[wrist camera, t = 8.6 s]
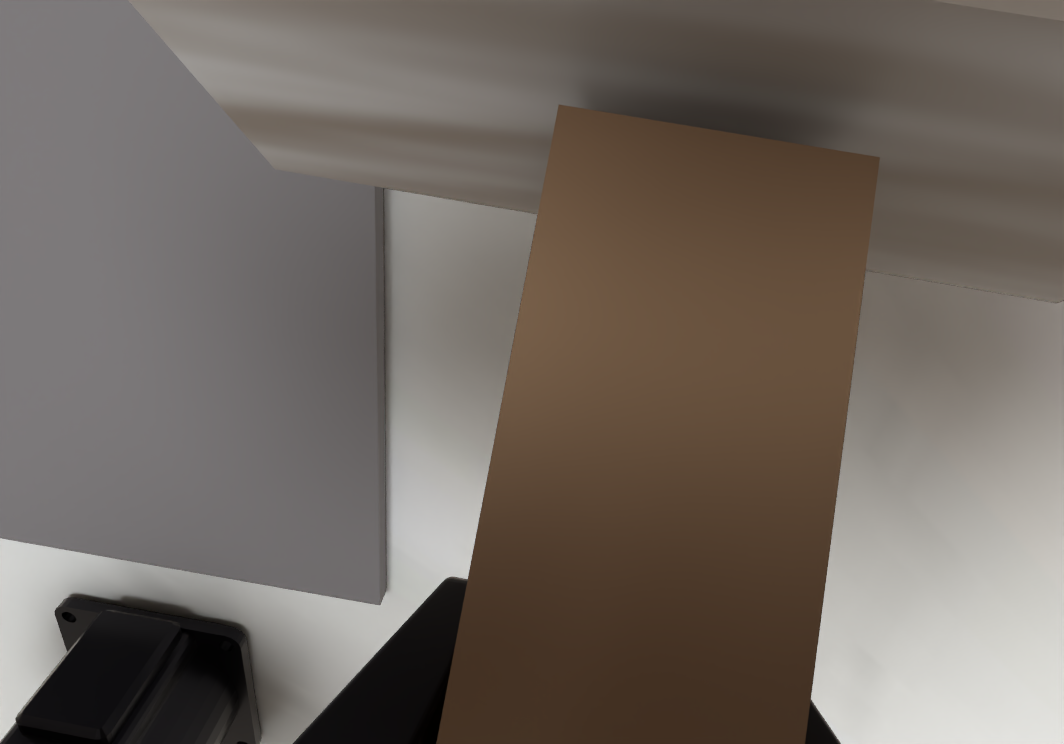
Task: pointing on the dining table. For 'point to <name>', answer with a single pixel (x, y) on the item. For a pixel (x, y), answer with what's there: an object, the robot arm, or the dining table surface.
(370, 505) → the tool mat
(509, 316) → the dining table surface
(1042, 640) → the dining table surface
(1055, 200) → the t-shaped pusher tool
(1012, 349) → the dining table surface
